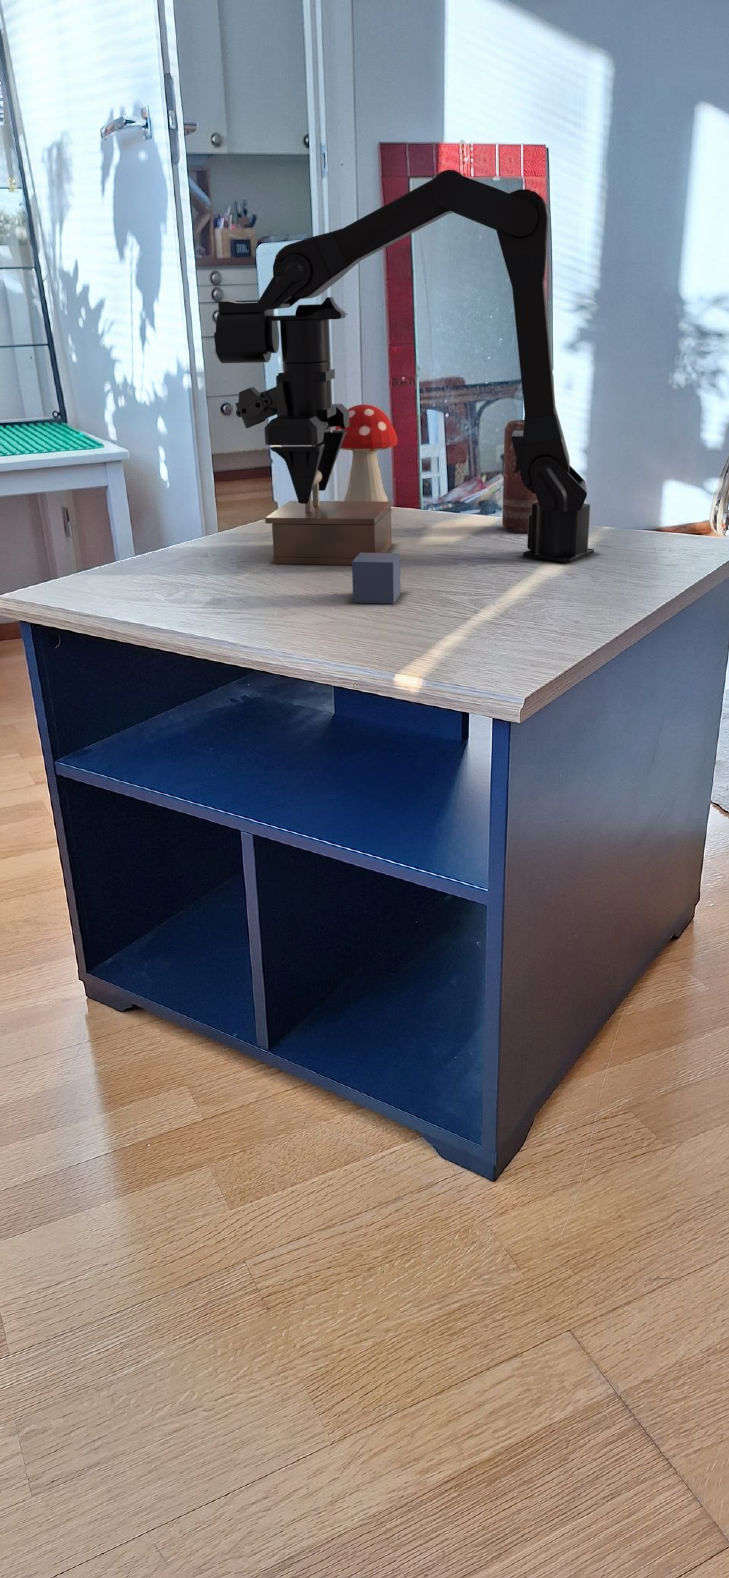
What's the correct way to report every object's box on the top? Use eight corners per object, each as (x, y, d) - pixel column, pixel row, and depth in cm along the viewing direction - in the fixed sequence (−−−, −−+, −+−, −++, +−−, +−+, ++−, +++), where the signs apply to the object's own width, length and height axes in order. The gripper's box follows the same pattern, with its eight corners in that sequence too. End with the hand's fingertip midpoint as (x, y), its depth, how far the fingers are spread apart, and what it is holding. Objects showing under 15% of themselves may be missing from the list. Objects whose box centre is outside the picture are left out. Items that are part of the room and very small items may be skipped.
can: (552, 532, 148) (557, 423, 143) (504, 534, 149) (507, 424, 143) (546, 524, 154) (550, 417, 148) (500, 525, 154) (502, 419, 148)
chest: (274, 563, 136) (271, 524, 134) (297, 543, 146) (295, 506, 144) (375, 565, 134) (374, 525, 132) (391, 545, 144) (391, 507, 142)
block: (400, 593, 121) (400, 553, 119) (393, 603, 117) (393, 562, 116) (361, 592, 122) (360, 552, 120) (353, 602, 118) (351, 561, 116)
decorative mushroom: (407, 506, 169) (406, 402, 163) (384, 516, 162) (382, 408, 156) (348, 502, 173) (345, 401, 167) (323, 512, 166) (319, 407, 160)
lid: (265, 523, 134) (262, 480, 132) (289, 506, 145) (287, 465, 142) (374, 524, 132) (373, 480, 130) (391, 507, 142) (390, 466, 140)
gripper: (262, 358, 141) (269, 484, 147) (216, 368, 124) (227, 510, 131) (348, 356, 139) (352, 484, 145) (313, 367, 122) (319, 511, 129)
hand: (312, 496), depth 138 cm, fingers open, 9 cm apart
